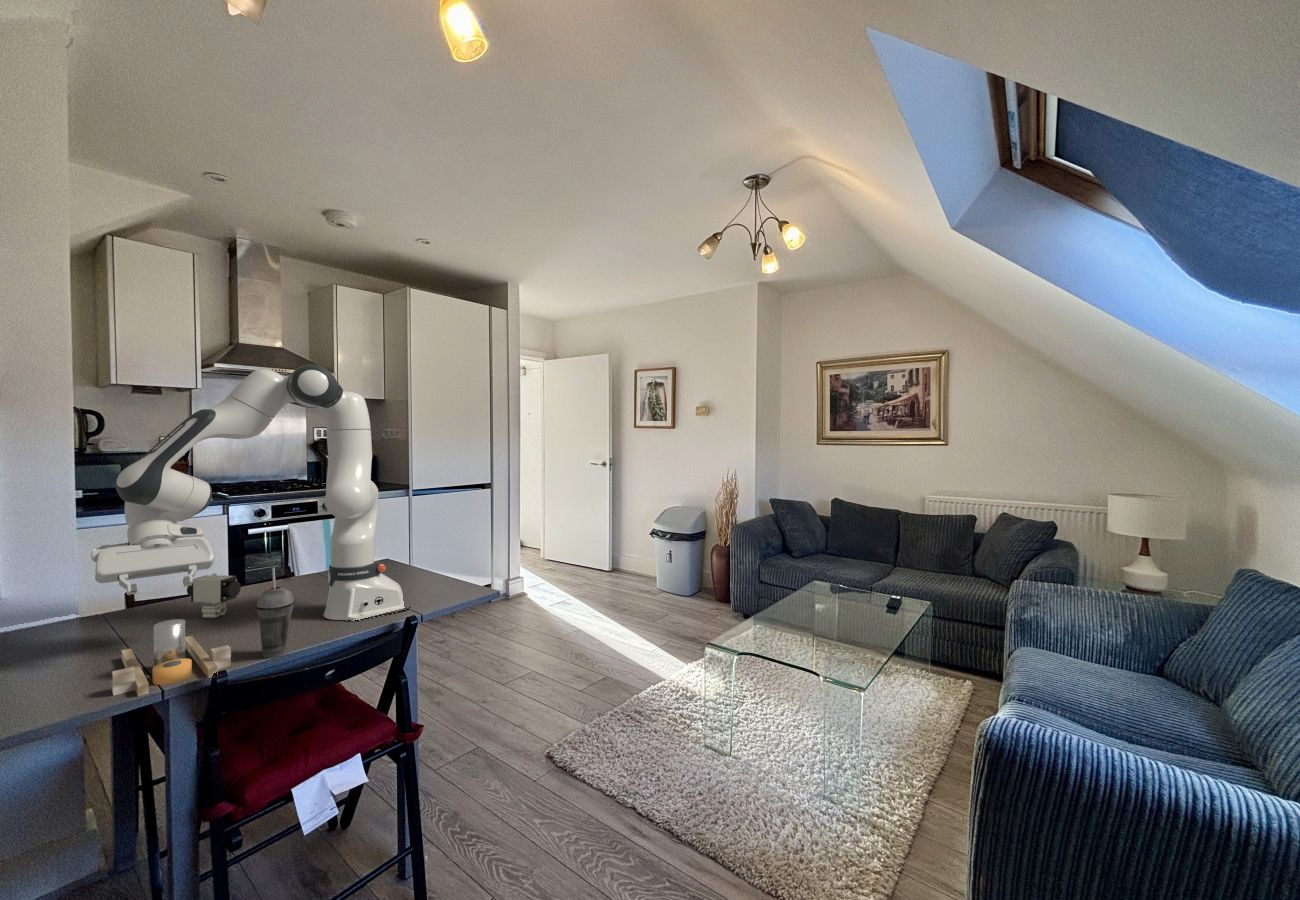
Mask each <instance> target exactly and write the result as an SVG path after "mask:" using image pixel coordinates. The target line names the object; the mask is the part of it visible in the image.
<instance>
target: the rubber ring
mask: <svg viewBox="0 0 1300 900" xmlns="http://www.w3.org/2000/svg"><path fill="white" fill-rule="evenodd" d="M192 661H193V660H192V659H190V658H186V657H185V658H182V659H174V660H169V661H166V662H162V663H160V664H157V665H156V666H154V665H153V667H152V684H154V685H155V686H156V685H157V686H160V685H161V686H162V685H169V684H170V685H171V684H175V683H179V682H183V681H184V680H186V679H188V678H190V677H191V676H192V675H193V671H192V670H193V669H192V667H193V666H192V665H193V662H192Z"/></svg>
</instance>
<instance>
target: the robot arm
mask: <svg viewBox="0 0 1300 900" xmlns="http://www.w3.org/2000/svg"><path fill="white" fill-rule="evenodd" d="M365 399H366V398H364V396H363V395H361V394H360V393H357V392H353V391H349V390H348V391H347V390H345V391H344V389H343V387H342V386H341V384H340V383H339V382H338V380H337V379H336V378H335V375H334V374H332V372H330V370H328V369H327V368H325V367H324V366H321V365H318V364H312V363H311V364H308V363H307V364H304V365H300V366H299V367H298V366H297V368H295V369H294V370H293V371H292V372H291V373H290V375H283V374H280V373H278V372H276V371H274V370H271V369H267V368H258V369H255V370H254V371H252V372H251V373H250V374H249V375H247V376H246V377H245V378H243V379H242V380H241V381H239V383H238V384H237V385H236V386H235V387H234V388H233V389H232V390H231V391H230V393H229V394H228V395H227V396H226V397H225V398H224V400H222V401H221V402H219V404H217V405H214V406H213V407H210V408H203V409H199V410H197V411H195V412H194V413H192V414H191V415H189V416H188V417H187V418H186V419H184V420H183V421H182V422H181V423H180V424H178V425H177V426H175V428H174V429H172V430H171V431H170V432H169V433H168V434H166V435H165V436H164V437H163V438H162V439H161V440H160V441H158V443H156V444H155V445H154V446H153V447H151V449H149V450H148V451H147V452H146V453H145V454H143V455H142V456H140V457H139V458H137V459H136V460H135V461H133V462H131V463H130V464H128V465H127V466H125V467H124V468H122V470H121V471H119V473H118V474H117V476H116V479H115V480H114V481H115V482H114V483H115V485H114V486H115V490H116V491H117V494H118V496H119V497H120V498H121V500H123V502H124V518H125V523H126V525H128V529H127V531H126V537H127V542H122V543H121V542H120V543H116V544H102V545H100V547H97V548H95V549H93V550H92V551H91V560H92V561H93V562H94V563H96V565H95V571H94V573H95V575H94V581H96V582H97V583H99V584H108V583H115V582H118V585H120V587H122V588H123V589H124V590H126V595H127V596H131V595H137V593H138V587H137V586H138V585H137V583H130V581H129V580H131V581H132V580H136V579H144V578H151V577H158V576H159V577H160V576H165V575H173V574H181V573H186V572H187V576H184V577H183V579H182V584H183V587H188V586H191V585H192V584H193V579H194V577H195V575H196V573H197V571H203V570H209V569H210V568H212V566H213V565H214V561H215V554H214V551H213V548H212V545H211V543H210V541H209V539H207V538H206V537H204V531H203V529H202V528H201V527H197V526H196V527H194V526H186V525H179V524H178V522H184V521H186V520H188V519H190V518H192V517H194V516H196V515H198V514H200V513H201V512H203V511H204V510H206V509H207V508H208V507H209V505H210V504H211V502H212V501H211V500H212V496H213V491H212V487H211V485H210V483H209V482H208V481H205V480H204V479H201V478H198V477H195V476H192V475H190V474H186V473H184V472H182V471H178V470H176V469H173V468H172V466H174V464H175V463H177V462H178V460H180V459H181V458H182V457H183V456H185V454H186V453H187V452H188V451H190V450H191V449H192V448H193V447H195V446H196V445H197V444H198V443H200V442H201V441H204V440H208V439H215V438H217V439H229V440H245V439H251V438H255V437H257V436H259V435H260V434H261V433H263V432H264V431H265V430H266V429H267V428H268V426H269V425H271V422H273V420H274V418H275V417H276V416H277V414H278V413H279V412H280V411H281V410H282V408H284V407H285V406H286V405H288V404H292V405H296V406H300V407H303V408H307V409H308V408H309V409H316V408H318V409H321V411H322V413H323V414H324V417H325V422H326V424H325V425H326V441H327V443H326V444H327V472H326V483H325V484H326V486H325V498H324V506H325V508H326V510H327V511H328V513H330V514H331V515H333V516H334V520H333V521H334V522H333V527H332V534H331V536H330V564H329V566H328V571H327V574H328V575H327V578H328V579H327V580H328V585H329V588H328V589H329V590H328V595H327V596H328V597H327V602H326V607H325V610H324V612H323V617H324V618H326V619H328V620H333V621H334V620H335V621H348V620H351V621H350V622H356V621H355V620H359V621H361V620H360V619H364V618H368V617H371V616H375V615H379V614H383V613H386V612H391V611H395V610H399V609H403V608H405V607H404V601H403V597H404V595H403V594H404V593H403V589H402V587H401V585H400V584H399V583H398V582H396V581H395V580H393V579H392V578H390V577H389V576H387V575H385V574H383V572H385V571H386V566H385V565H384V563H381V562H379V561H376V560H375V552H376V551H375V546H376V545H375V541H376V540H375V539H376V535H375V534H376V528H377V518H378V507H379V489H378V486H377V485H376V484H375V483H374V481H372V480H371V479H372V475H371V474H372V463H373V462H372V460H373V447H372V446H373V445H372V444H373V442H372V430H371V429H372V428H371V421H370V413H369V409H368V406H367V403H366V400H365ZM364 620H365V619H364Z"/></svg>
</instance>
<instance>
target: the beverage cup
mask: <svg viewBox="0 0 1300 900" xmlns="http://www.w3.org/2000/svg"><path fill="white" fill-rule="evenodd" d="M275 569H276V568H275V567H271V571H272V572H271V573H272V574H271V575H272V587H270V588H268V589H266V590H265V591H263V592H262V593H261V594H260V595H259V597H258V599H257V602H256V606H255V609H256V613H257V616H258V621H259V622H258V623H259V630H260V642H261V651H262V655H263V658H265V659H273V658H279V657H282V656H284V655H286V654H287V653H288V647H289V642H290V633H291V632H290V630H291V623H292V621H291V620H292V613H293V609H294V604H295V600H294V596H293V594H292V592H291V590H289V589H288V588H286V587H284V586H276V570H275Z"/></svg>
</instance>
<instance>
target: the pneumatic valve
mask: <svg viewBox="0 0 1300 900" xmlns="http://www.w3.org/2000/svg"><path fill="white" fill-rule="evenodd" d="M192 579H193V584H192V585H191V586H186V592H187V593H186V594H187V595H188V596H189V597H190V601H191V602H192V603H204V604H205V605H203V606H202V607H201V608H202V609H201V614H202V618H204V619H216V618H218V617H220V616H224V615H225V614H226V612H227V607H226V602H228V601H231V600H234V599H237V596H238V595H239V594H240V591H241V589H242V586H241V585H242V584H241V583H240V582H239V581H238V579H237V575H222V574H221V575H217V573H211V575H210V574H209V575H208V574H206V575H202V576H199V577H195V578H192ZM208 603H210V604H208Z"/></svg>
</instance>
